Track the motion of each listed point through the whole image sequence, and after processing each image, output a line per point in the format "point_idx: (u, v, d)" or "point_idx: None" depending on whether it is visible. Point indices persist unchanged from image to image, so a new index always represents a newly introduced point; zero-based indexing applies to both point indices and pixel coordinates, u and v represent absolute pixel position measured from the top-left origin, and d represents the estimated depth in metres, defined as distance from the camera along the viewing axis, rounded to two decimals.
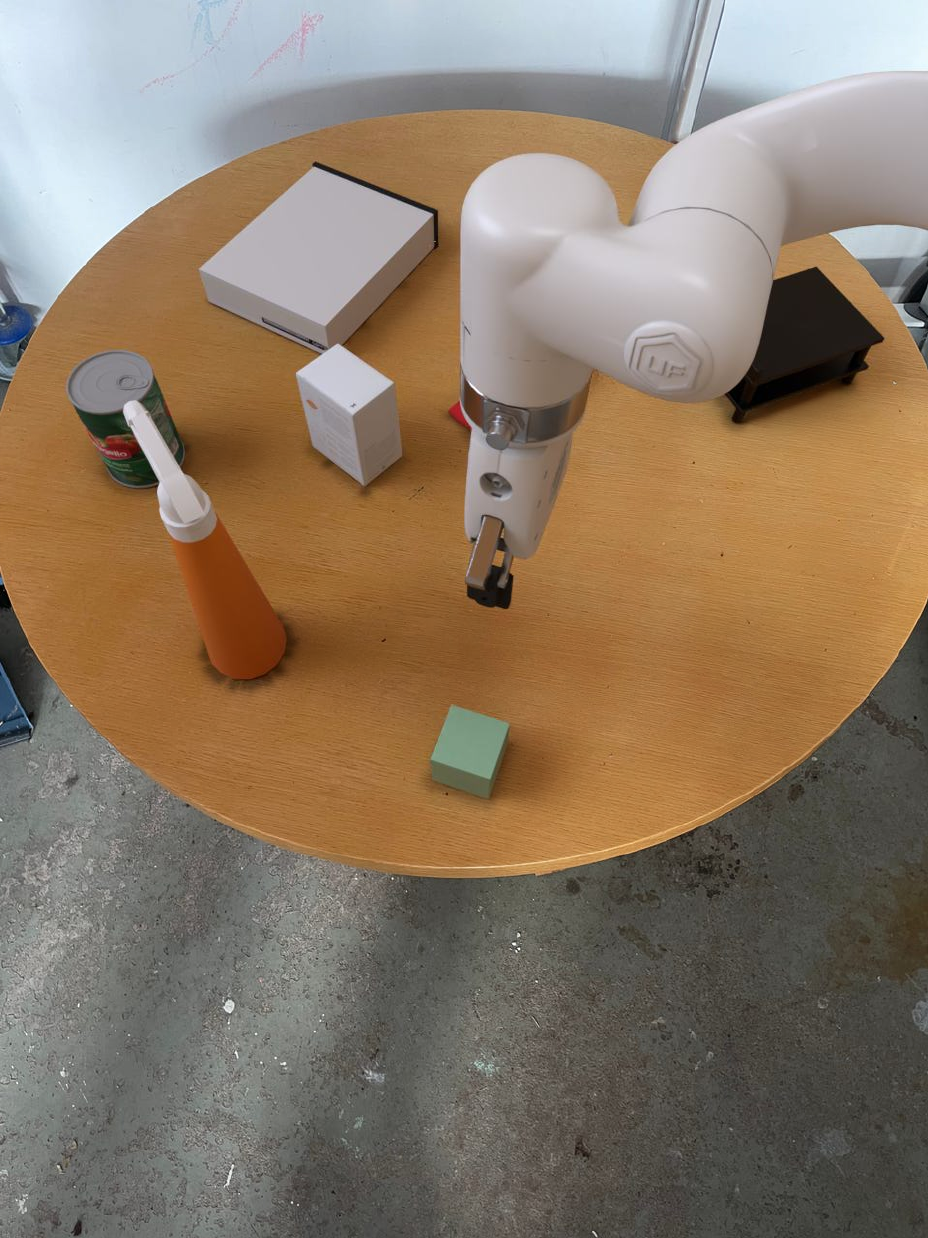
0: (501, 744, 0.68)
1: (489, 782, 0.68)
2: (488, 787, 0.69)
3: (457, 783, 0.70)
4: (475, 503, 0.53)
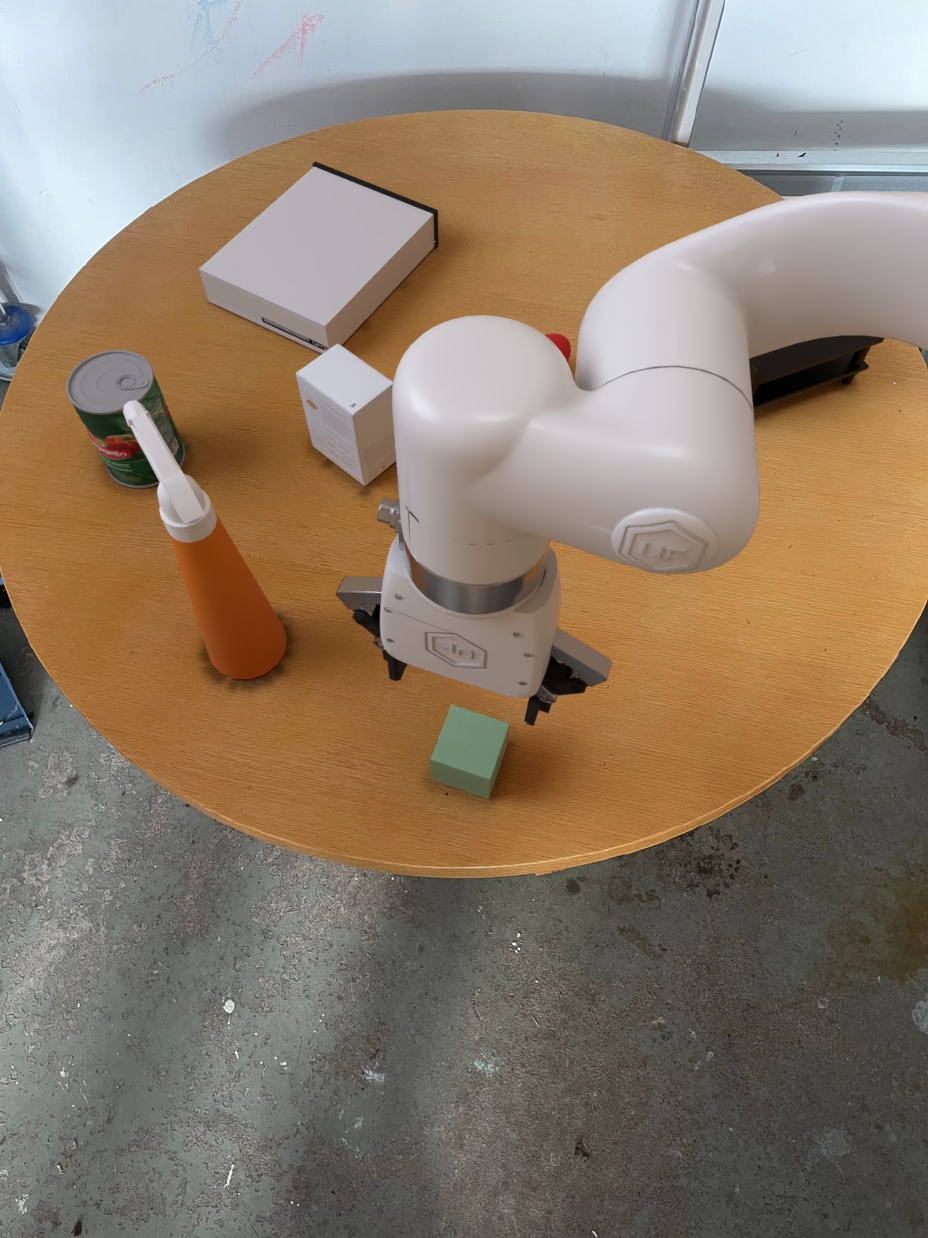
0: (501, 744, 0.68)
1: (489, 782, 0.68)
2: (488, 787, 0.69)
3: (457, 783, 0.70)
4: None
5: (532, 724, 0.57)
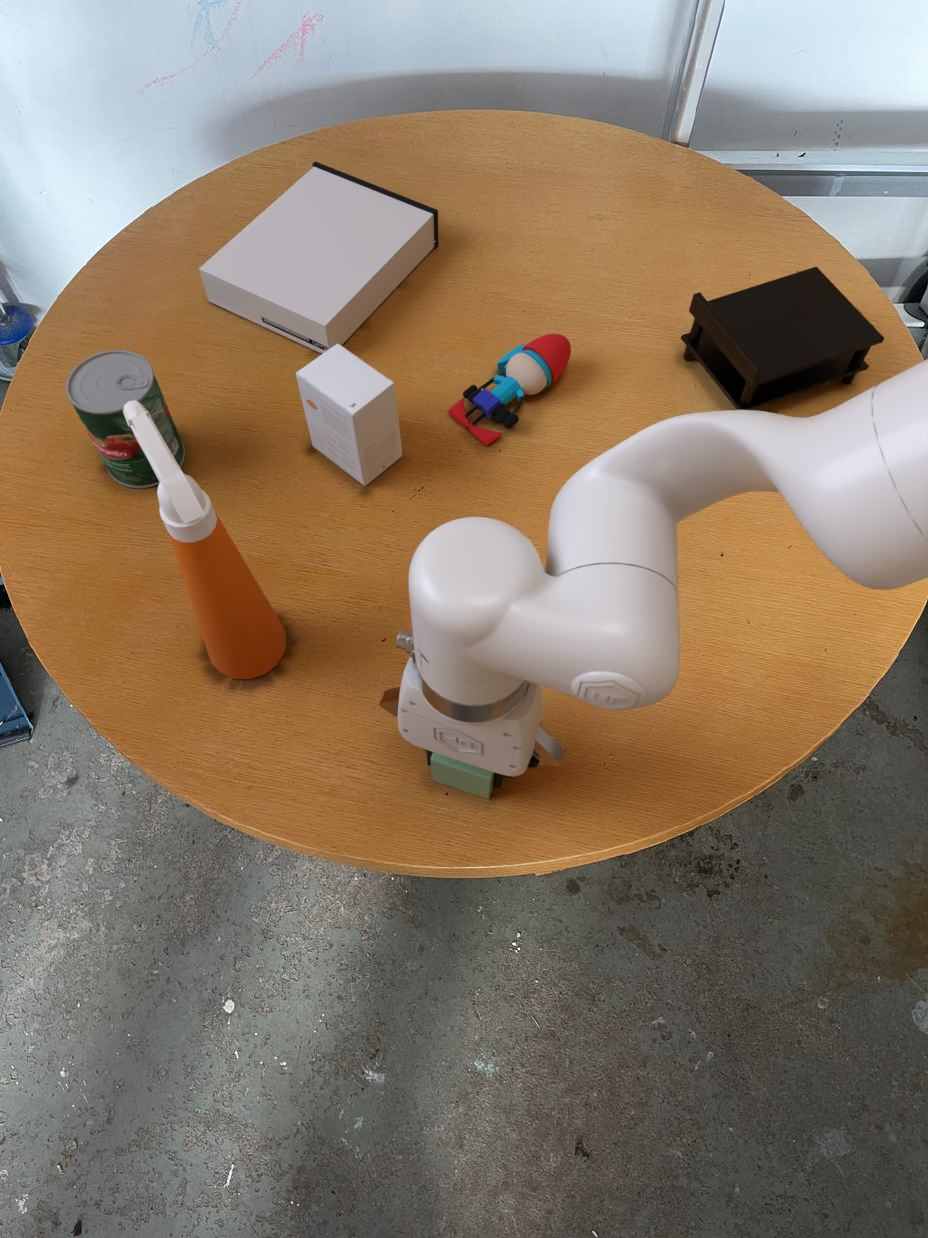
0: None
1: (489, 782, 0.68)
2: (488, 787, 0.69)
3: (457, 783, 0.70)
4: None
5: (499, 788, 0.71)
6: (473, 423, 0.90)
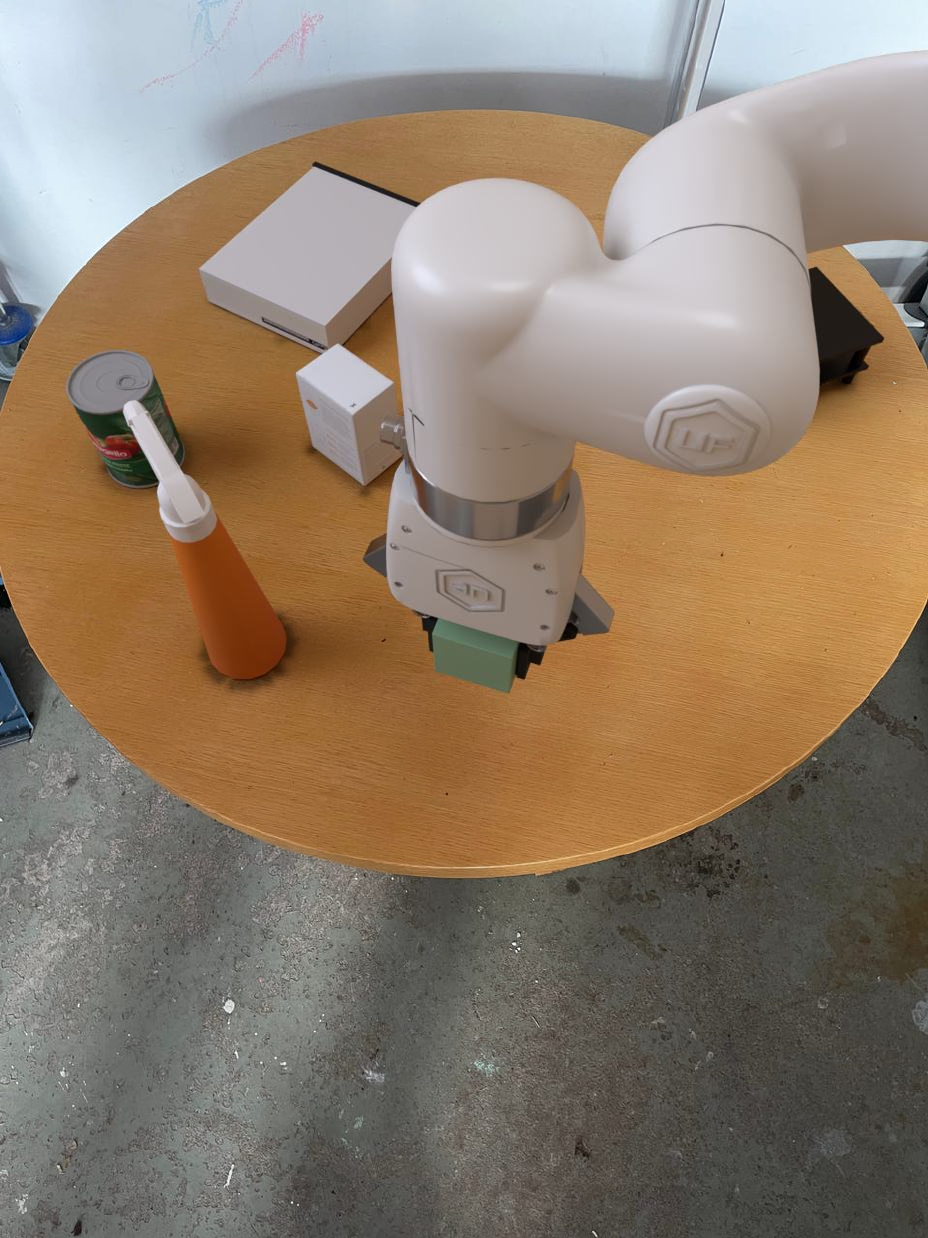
0: None
1: (511, 663, 0.51)
2: (509, 672, 0.52)
3: (468, 671, 0.54)
4: None
5: (523, 677, 0.54)
6: None
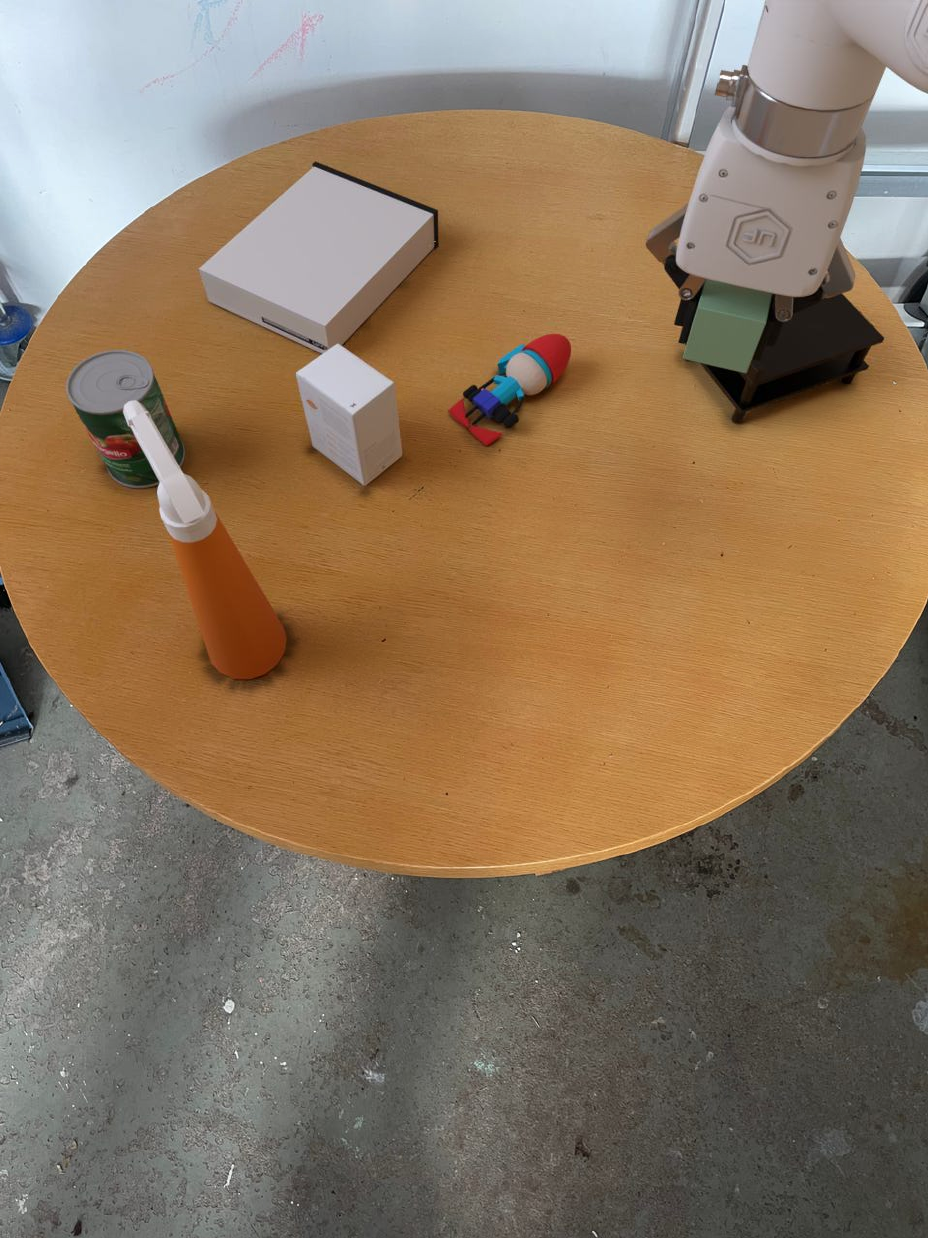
0: (771, 294, 0.64)
1: (762, 330, 0.63)
2: (756, 343, 0.64)
3: (716, 351, 0.66)
4: None
5: (759, 357, 0.66)
6: (473, 423, 0.90)
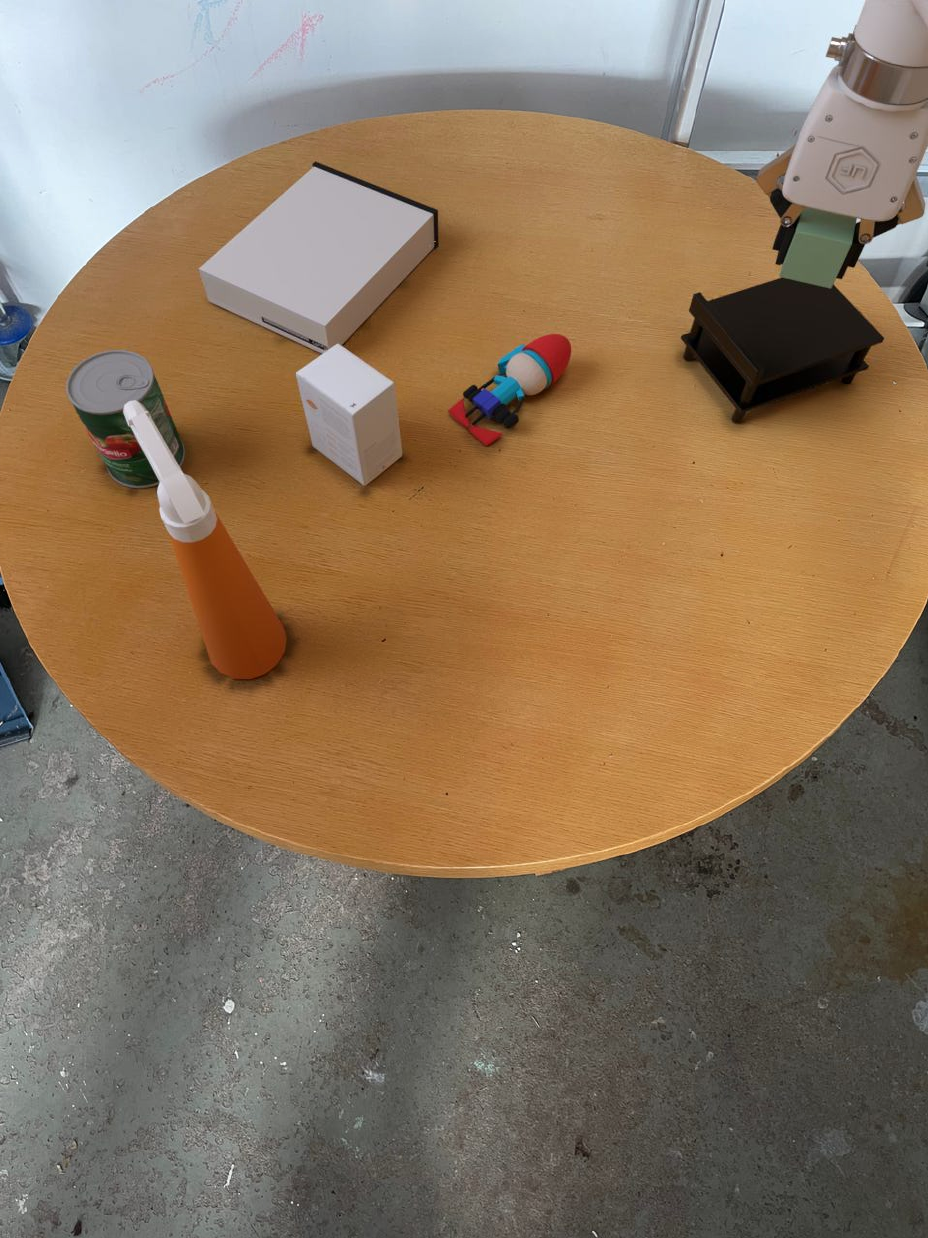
0: (854, 222, 0.79)
1: (847, 250, 0.79)
2: (842, 261, 0.80)
3: (807, 269, 0.82)
4: None
5: (842, 275, 0.82)
6: (473, 423, 0.90)
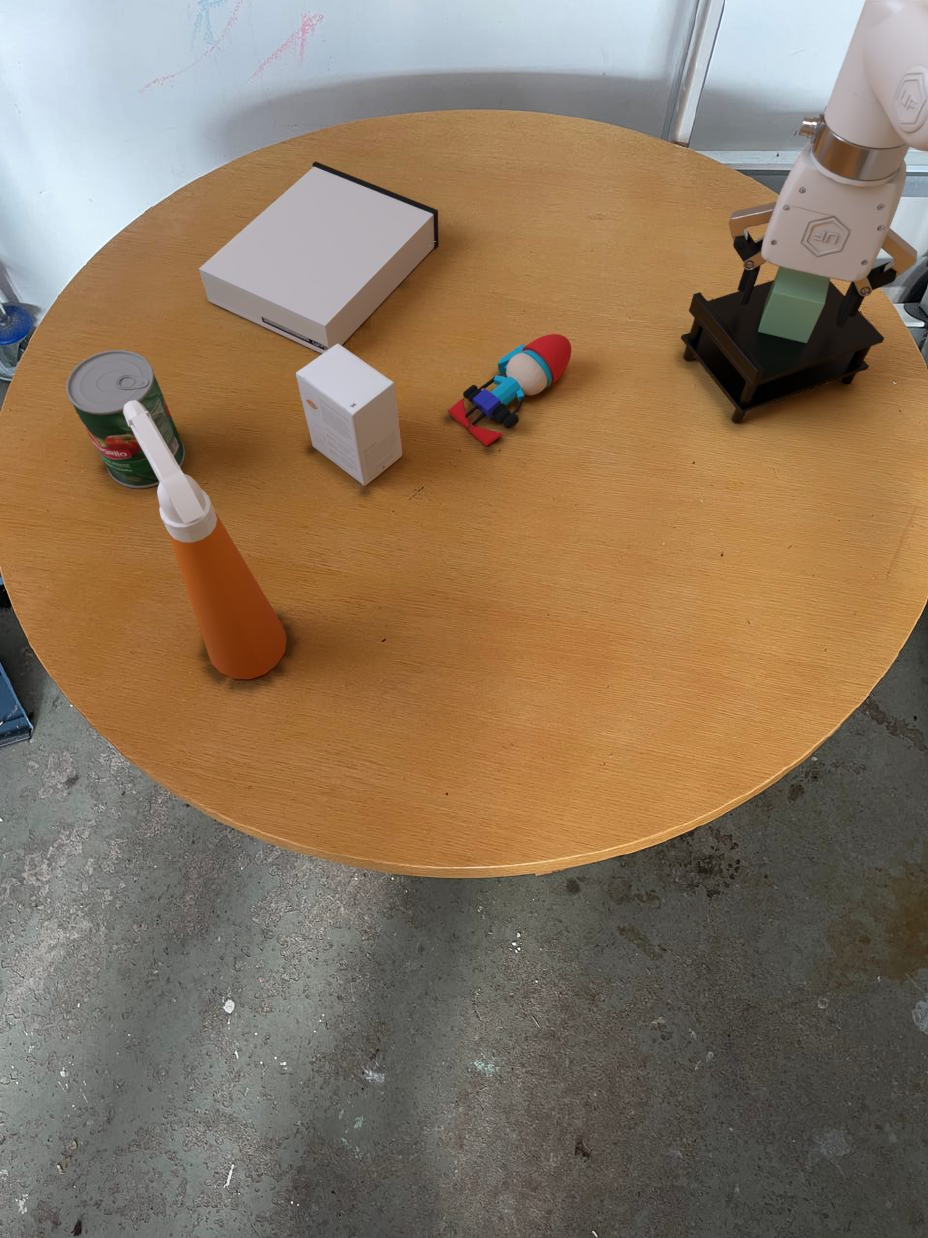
0: (828, 283, 0.85)
1: (821, 309, 0.85)
2: (816, 319, 0.86)
3: (784, 325, 0.87)
4: None
5: (843, 324, 0.86)
6: (473, 423, 0.90)
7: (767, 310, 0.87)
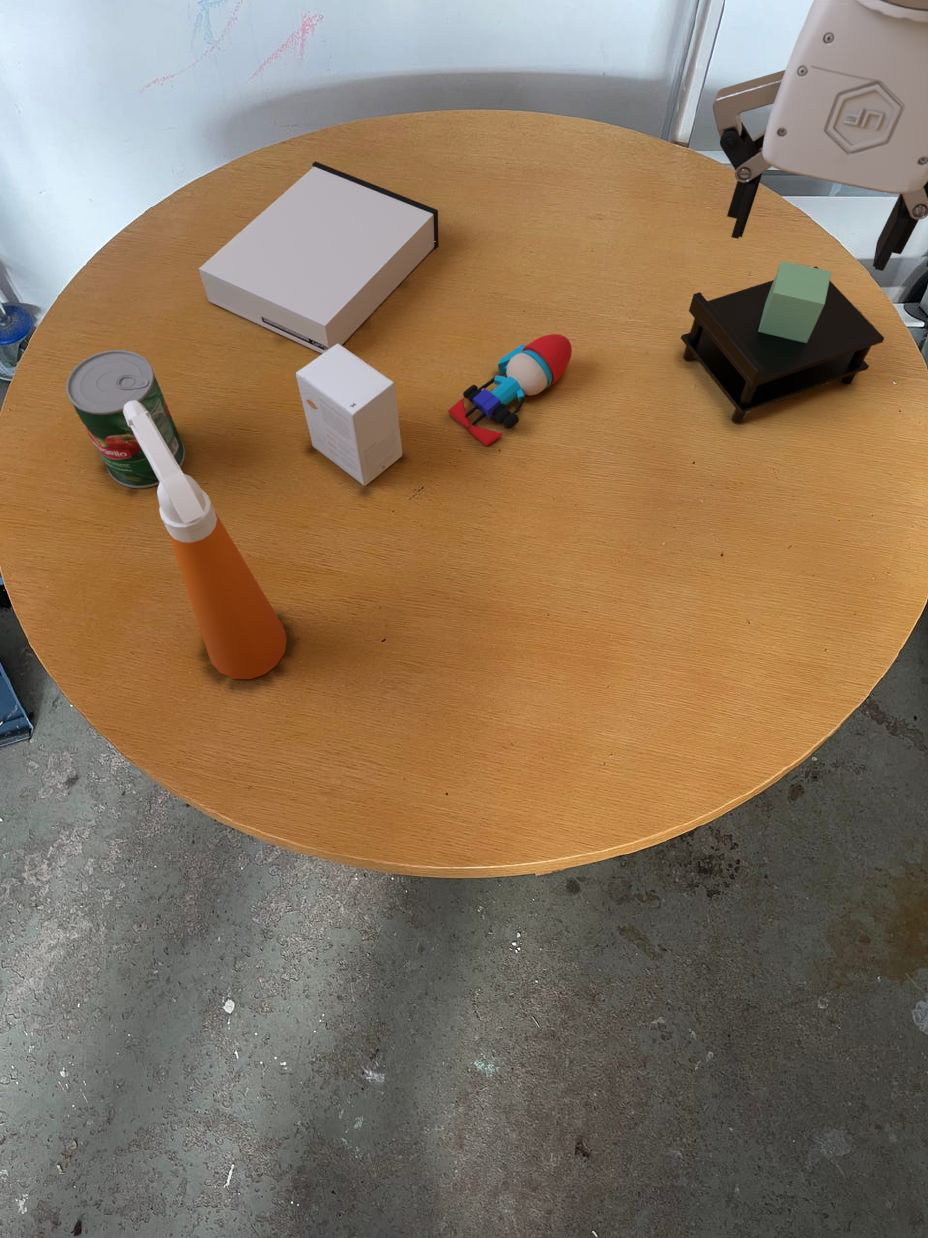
0: (828, 283, 0.85)
1: (821, 309, 0.85)
2: (816, 319, 0.86)
3: (784, 325, 0.87)
4: None
5: (884, 265, 0.58)
6: (473, 423, 0.90)
7: (767, 310, 0.87)
